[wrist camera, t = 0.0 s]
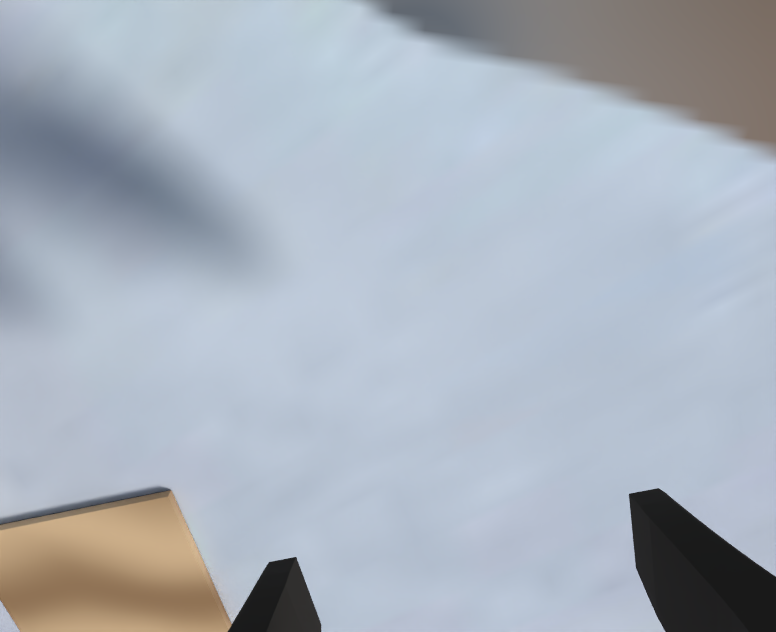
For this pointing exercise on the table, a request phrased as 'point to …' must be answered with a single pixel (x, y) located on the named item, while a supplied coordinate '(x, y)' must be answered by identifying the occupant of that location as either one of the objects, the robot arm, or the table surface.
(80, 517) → the cork mat
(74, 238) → the table surface
